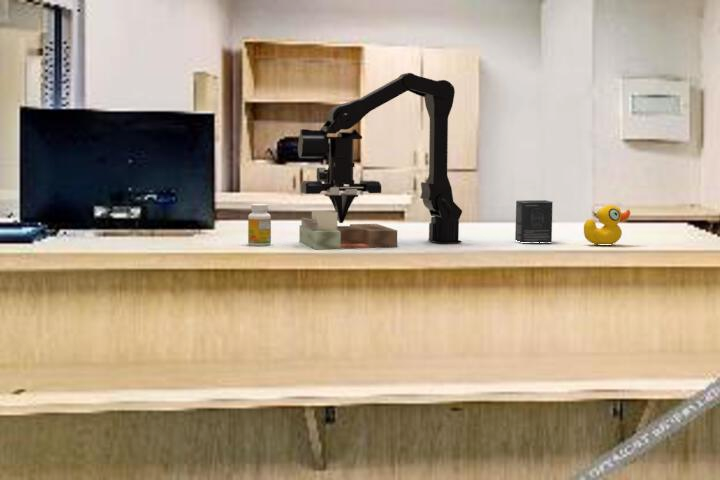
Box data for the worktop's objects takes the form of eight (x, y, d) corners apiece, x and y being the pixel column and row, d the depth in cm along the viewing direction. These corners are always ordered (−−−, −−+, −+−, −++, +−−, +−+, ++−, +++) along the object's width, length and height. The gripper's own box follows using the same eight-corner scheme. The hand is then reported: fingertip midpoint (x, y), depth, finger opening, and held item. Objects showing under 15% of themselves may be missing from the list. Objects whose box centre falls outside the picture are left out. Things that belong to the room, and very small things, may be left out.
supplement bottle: (244, 244, 225) (244, 203, 224) (265, 243, 227) (265, 203, 226) (253, 246, 220) (253, 205, 219) (274, 245, 223) (274, 204, 222)
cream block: (331, 226, 228) (331, 210, 228) (337, 229, 223) (337, 212, 223) (311, 227, 227) (311, 210, 226) (316, 229, 222) (317, 212, 221)
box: (544, 241, 239) (545, 199, 237) (551, 244, 233) (553, 201, 232) (514, 241, 237) (515, 199, 236) (521, 244, 232) (523, 201, 231)
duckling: (624, 244, 234) (626, 204, 233) (632, 246, 229) (634, 206, 228) (580, 244, 233) (581, 204, 232) (587, 246, 228) (588, 205, 227)
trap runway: (376, 239, 238) (376, 215, 237) (397, 247, 223) (397, 222, 222) (299, 241, 232) (299, 217, 231) (315, 249, 217) (315, 223, 216)
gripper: (368, 157, 235) (367, 219, 236) (295, 157, 229) (295, 220, 231) (382, 158, 224) (381, 223, 226) (306, 158, 219) (306, 225, 220)
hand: (340, 222), depth 226 cm, fingers closed
